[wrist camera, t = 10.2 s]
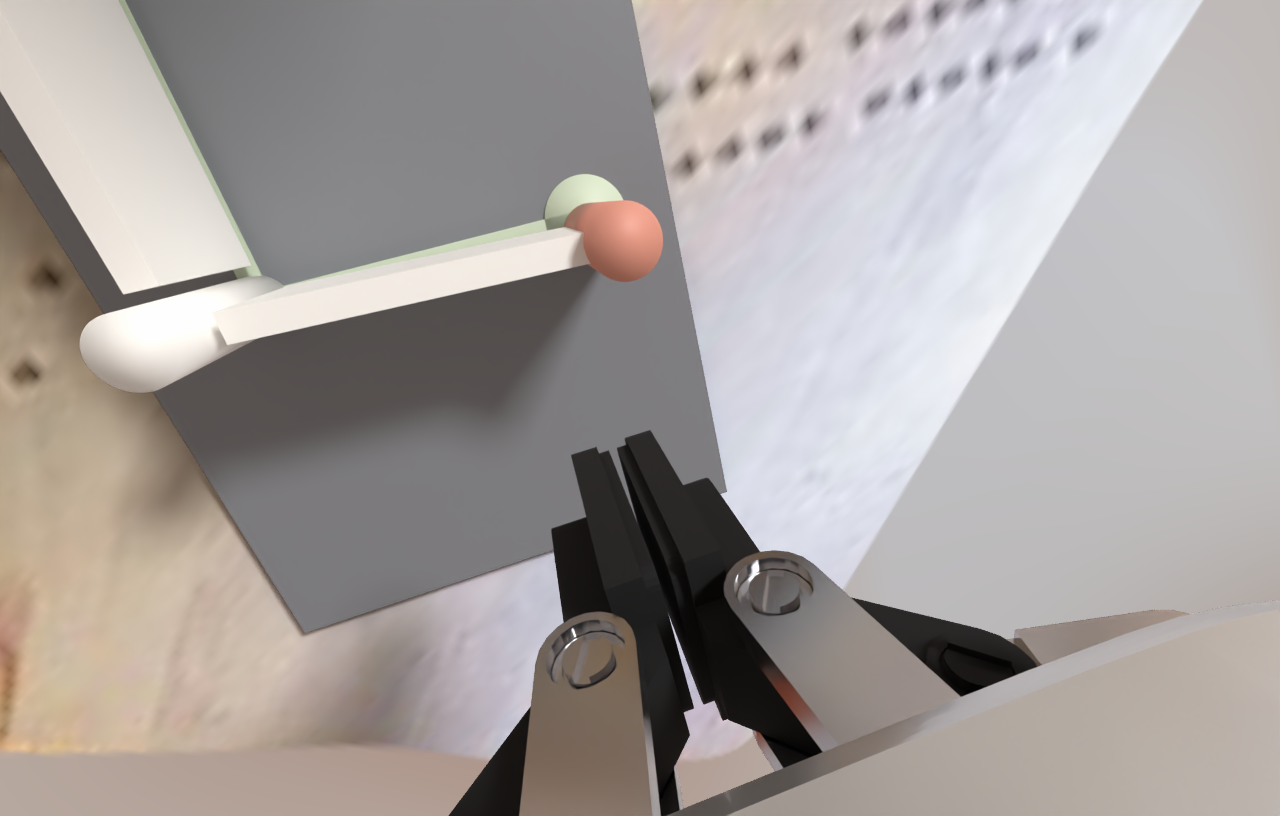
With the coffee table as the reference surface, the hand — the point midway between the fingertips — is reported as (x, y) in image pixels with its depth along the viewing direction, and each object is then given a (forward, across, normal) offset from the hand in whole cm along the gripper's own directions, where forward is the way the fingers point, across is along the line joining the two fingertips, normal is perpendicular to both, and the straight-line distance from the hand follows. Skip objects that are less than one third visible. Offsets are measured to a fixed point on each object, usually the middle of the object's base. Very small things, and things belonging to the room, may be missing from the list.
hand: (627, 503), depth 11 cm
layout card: (+12, +4, -4) cm, 13 cm away
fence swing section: (+11, +2, -4) cm, 12 cm away
